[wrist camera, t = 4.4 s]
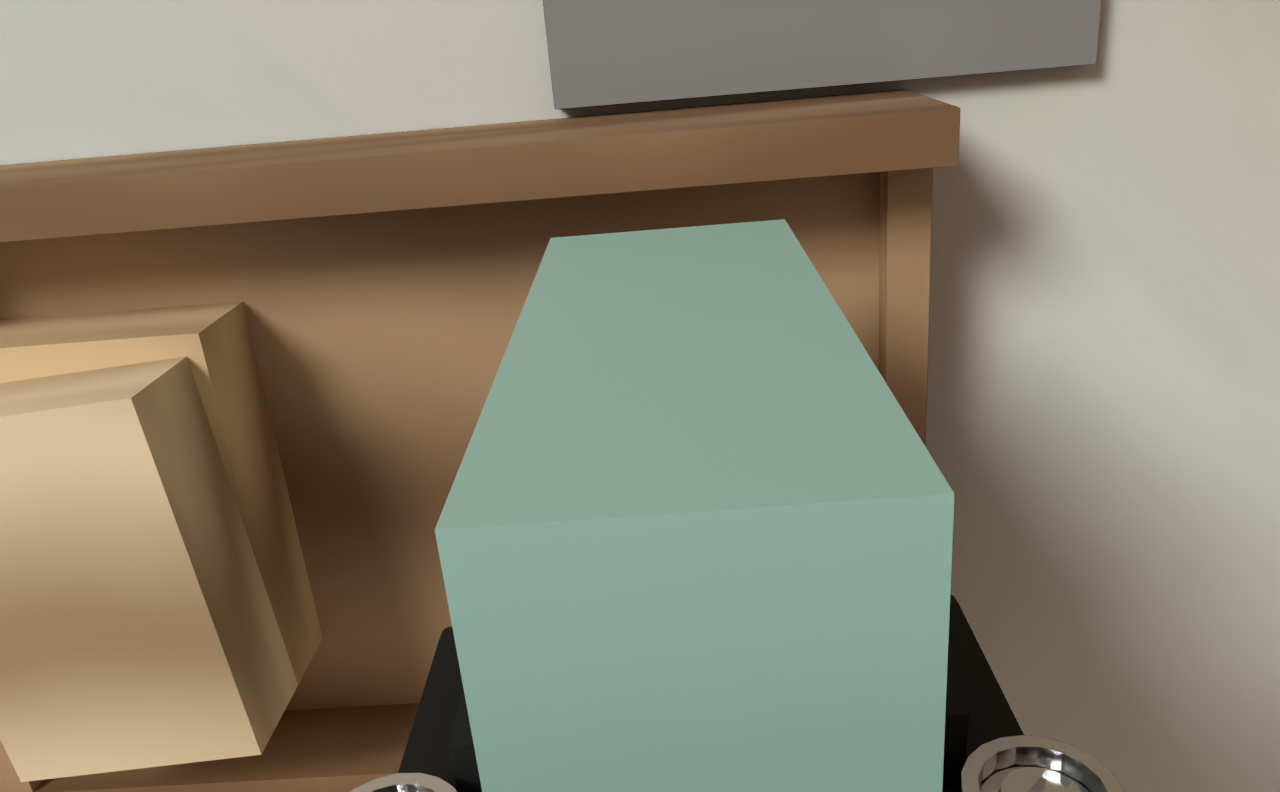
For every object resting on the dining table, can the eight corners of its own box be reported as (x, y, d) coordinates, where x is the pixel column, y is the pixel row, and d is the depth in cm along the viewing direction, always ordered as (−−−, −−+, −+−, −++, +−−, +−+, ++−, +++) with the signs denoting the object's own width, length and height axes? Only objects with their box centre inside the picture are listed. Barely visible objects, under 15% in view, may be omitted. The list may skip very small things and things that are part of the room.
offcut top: (-62, 392, 16) (-147, 437, 14) (186, 356, 16) (131, 398, 14) (79, 711, 18) (21, 782, 17) (298, 685, 18) (261, 754, 16)
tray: (-109, 174, 18) (-263, 209, 15) (906, 89, 17) (960, 108, 14) (84, 716, 22) (-5, 828, 19) (897, 669, 21) (936, 778, 18)
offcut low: (-8, 320, 17) (-78, 353, 16) (243, 301, 17) (198, 333, 16) (103, 651, 20) (53, 711, 18) (322, 638, 20) (292, 696, 18)
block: (550, 237, 13) (433, 528, 6) (785, 219, 13) (955, 494, 6) (614, 783, 16) (589, 1385, 9) (800, 773, 16) (918, 1373, 9)
